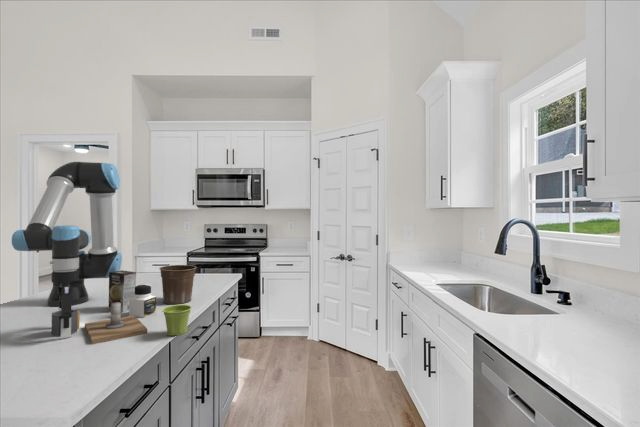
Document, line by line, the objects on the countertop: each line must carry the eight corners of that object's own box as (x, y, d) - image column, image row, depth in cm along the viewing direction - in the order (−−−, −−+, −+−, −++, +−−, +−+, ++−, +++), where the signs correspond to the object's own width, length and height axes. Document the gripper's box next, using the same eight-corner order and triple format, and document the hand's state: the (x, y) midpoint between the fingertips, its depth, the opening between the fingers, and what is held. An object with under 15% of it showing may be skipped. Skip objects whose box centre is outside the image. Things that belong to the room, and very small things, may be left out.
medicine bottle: (144, 317, 135) (144, 287, 135) (128, 316, 136) (129, 286, 136) (156, 312, 142) (156, 284, 142) (141, 311, 143) (141, 283, 143)
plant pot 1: (203, 300, 163) (203, 266, 163) (173, 307, 149) (173, 271, 149) (182, 295, 172) (182, 263, 172) (151, 302, 158) (152, 267, 158)
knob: (51, 332, 117) (51, 311, 117) (78, 327, 122) (78, 308, 122) (51, 337, 112) (52, 316, 112) (80, 332, 117) (80, 312, 117)
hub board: (84, 327, 122) (85, 301, 122) (134, 319, 133) (134, 294, 133) (91, 344, 107) (92, 314, 107) (147, 333, 117) (147, 305, 117)
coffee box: (107, 309, 145) (108, 272, 145) (121, 306, 151) (121, 269, 151) (122, 312, 142) (123, 273, 142) (136, 308, 148) (136, 271, 148)
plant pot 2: (173, 340, 111) (173, 313, 111) (156, 334, 116) (156, 309, 116) (197, 332, 119) (197, 307, 119) (180, 327, 124) (180, 303, 124)
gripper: (50, 266, 124) (49, 324, 124) (53, 276, 105) (51, 345, 105) (75, 264, 129) (74, 320, 129) (82, 274, 110) (81, 339, 110)
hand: (64, 332), depth 117 cm, fingers open, 13 cm apart
